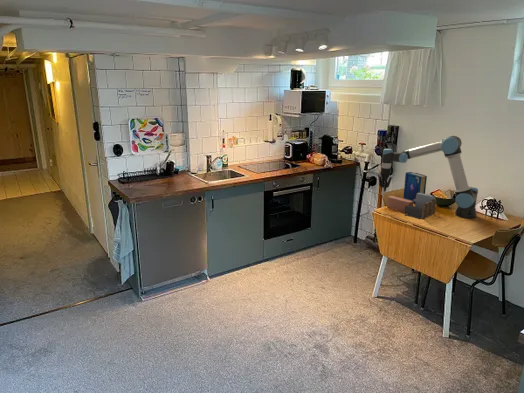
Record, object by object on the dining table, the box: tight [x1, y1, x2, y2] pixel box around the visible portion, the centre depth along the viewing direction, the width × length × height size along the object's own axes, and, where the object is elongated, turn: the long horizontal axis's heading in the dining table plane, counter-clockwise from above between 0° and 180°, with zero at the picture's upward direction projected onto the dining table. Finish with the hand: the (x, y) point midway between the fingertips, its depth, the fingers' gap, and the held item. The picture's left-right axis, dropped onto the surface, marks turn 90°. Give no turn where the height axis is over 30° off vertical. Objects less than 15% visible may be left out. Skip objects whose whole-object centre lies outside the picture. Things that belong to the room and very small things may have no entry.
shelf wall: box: [420, 198, 437, 220], centre depth 307 cm, size 20×2×12 cm, turn 133°
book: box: [403, 171, 428, 204], centre depth 345 cm, size 22×7×25 cm, turn 17°
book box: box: [386, 195, 414, 213], centre depth 324 cm, size 6×20×9 cm, turn 38°
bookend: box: [403, 205, 422, 220], centre depth 308 cm, size 7×16×7 cm, turn 43°
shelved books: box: [414, 193, 436, 208], centre depth 316 cm, size 6×12×15 cm, turn 43°
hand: (383, 194), depth 334 cm, fingers closed
